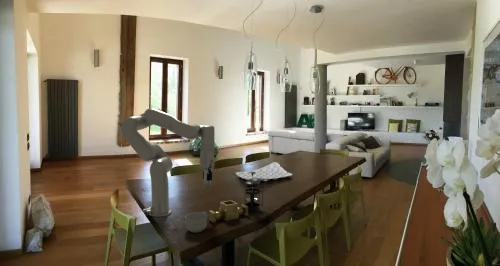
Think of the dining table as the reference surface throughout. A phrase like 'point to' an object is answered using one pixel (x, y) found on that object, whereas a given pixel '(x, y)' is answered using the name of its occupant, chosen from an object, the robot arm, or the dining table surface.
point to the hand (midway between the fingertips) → (207, 179)
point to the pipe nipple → (206, 183)
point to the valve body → (228, 211)
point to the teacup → (196, 221)
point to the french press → (252, 205)
